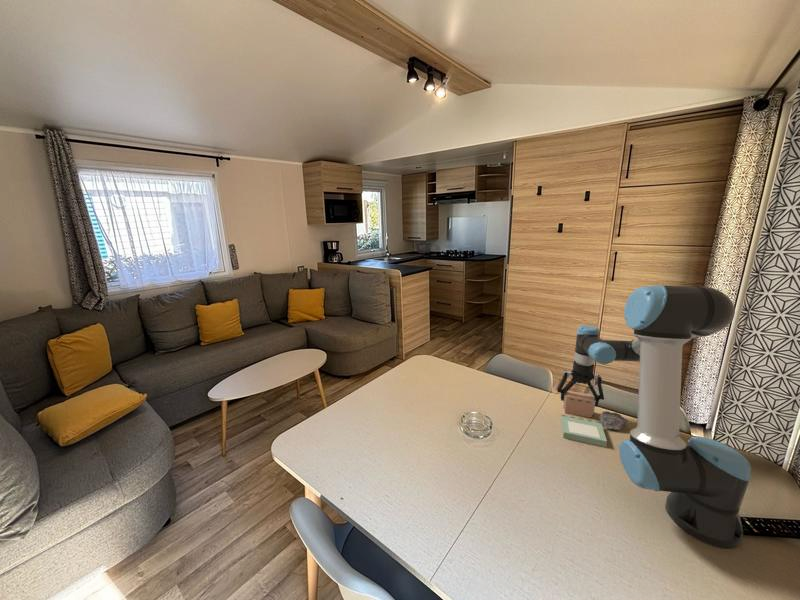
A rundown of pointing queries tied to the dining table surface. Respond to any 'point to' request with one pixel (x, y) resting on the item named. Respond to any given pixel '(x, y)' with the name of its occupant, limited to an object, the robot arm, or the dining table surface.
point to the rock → (613, 421)
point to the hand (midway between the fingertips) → (577, 409)
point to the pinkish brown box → (579, 403)
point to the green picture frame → (583, 430)
